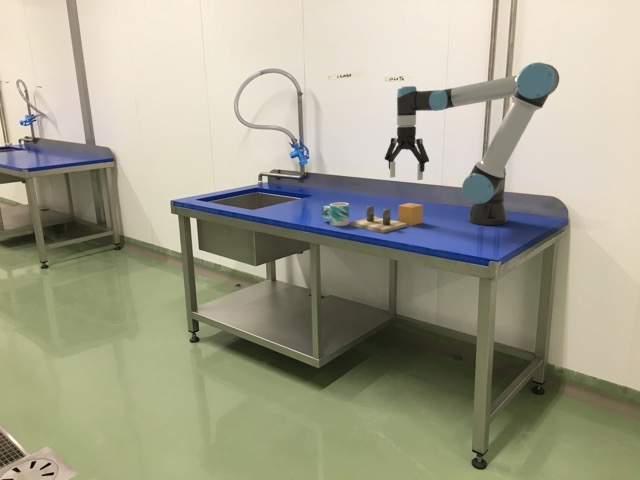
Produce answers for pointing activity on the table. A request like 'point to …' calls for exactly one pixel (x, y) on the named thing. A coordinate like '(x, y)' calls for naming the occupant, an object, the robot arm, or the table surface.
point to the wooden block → (410, 214)
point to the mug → (337, 213)
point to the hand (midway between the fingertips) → (406, 178)
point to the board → (378, 222)
